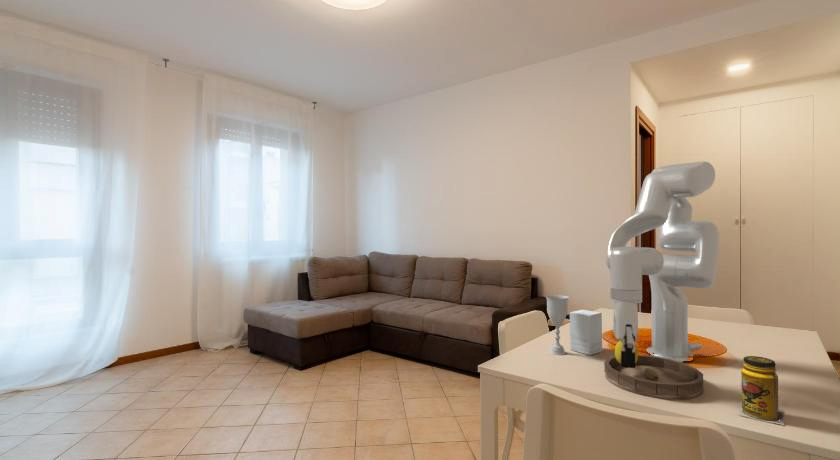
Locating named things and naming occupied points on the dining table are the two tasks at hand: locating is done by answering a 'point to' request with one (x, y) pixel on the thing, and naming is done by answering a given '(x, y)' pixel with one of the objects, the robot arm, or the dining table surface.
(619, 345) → the lemon
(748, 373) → the condiment
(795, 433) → the dining table surface
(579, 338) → the supplement box
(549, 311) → the chalice
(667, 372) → the groove tray
